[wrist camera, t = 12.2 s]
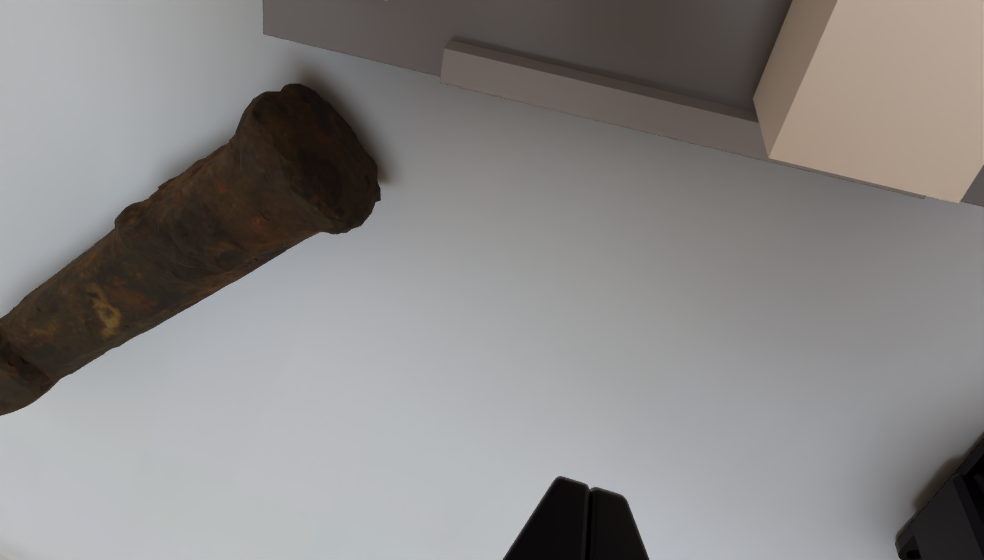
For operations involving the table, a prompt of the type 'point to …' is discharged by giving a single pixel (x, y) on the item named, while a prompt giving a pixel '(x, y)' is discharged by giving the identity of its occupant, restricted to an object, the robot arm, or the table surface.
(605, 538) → the robot arm
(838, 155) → the tab
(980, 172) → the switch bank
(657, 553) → the table surface
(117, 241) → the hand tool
